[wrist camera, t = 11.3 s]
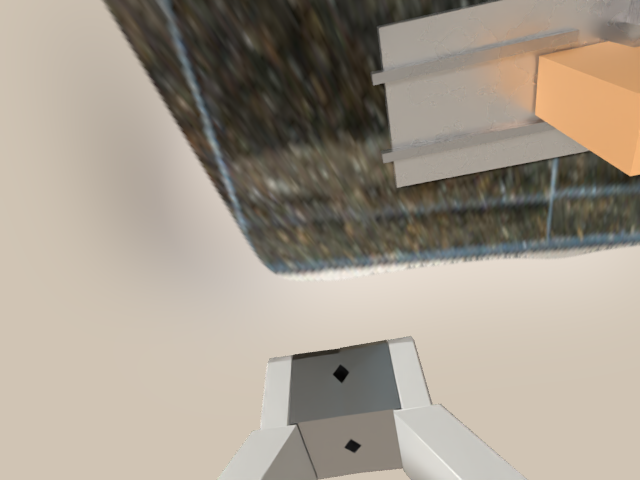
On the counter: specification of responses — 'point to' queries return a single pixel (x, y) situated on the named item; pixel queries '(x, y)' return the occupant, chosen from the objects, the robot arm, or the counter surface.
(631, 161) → the orange l-shaped block
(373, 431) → the robot arm
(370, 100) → the counter surface
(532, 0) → the grey slide rail
